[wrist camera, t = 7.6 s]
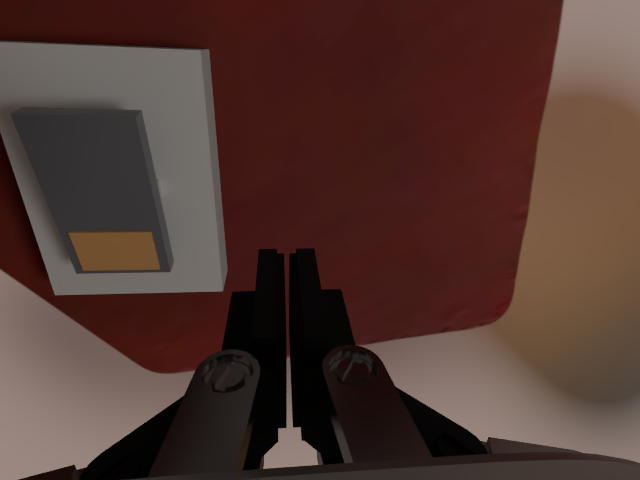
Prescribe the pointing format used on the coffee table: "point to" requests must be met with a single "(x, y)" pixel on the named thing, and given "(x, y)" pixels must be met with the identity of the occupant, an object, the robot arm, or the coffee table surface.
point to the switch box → (164, 141)
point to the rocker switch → (98, 186)
